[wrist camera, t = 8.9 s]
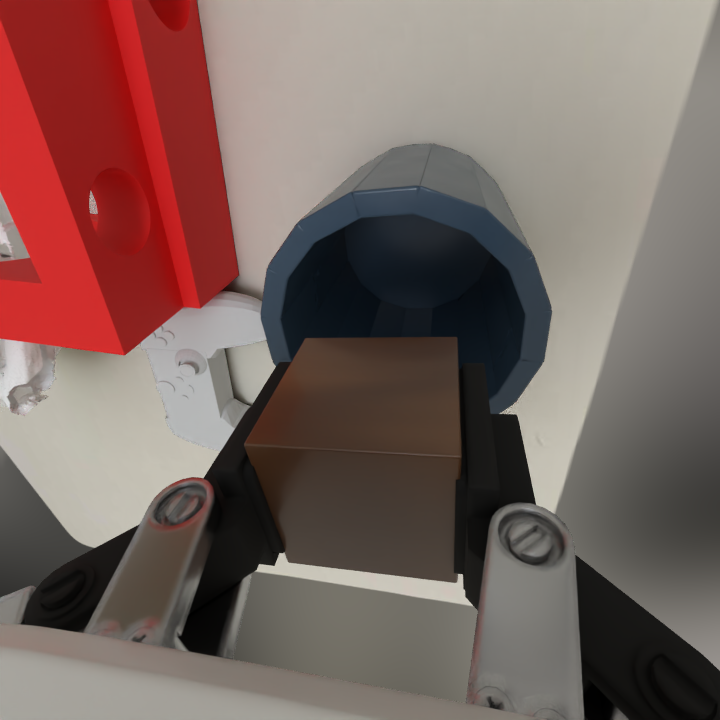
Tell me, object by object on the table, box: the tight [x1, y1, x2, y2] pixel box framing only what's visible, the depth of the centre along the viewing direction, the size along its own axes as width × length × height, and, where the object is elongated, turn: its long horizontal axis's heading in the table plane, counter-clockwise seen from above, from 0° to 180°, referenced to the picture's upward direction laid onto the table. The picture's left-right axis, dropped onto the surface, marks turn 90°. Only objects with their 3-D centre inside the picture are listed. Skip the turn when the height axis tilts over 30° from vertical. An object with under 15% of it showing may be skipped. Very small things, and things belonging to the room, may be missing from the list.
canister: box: [260, 144, 552, 414], centre depth 19 cm, size 10×10×12 cm
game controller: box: [140, 291, 267, 451], centre depth 30 cm, size 14×4×10 cm
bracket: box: [0, 0, 239, 355], centre depth 18 cm, size 18×10×10 cm
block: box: [244, 337, 462, 583], centre depth 10 cm, size 4×4×4 cm
